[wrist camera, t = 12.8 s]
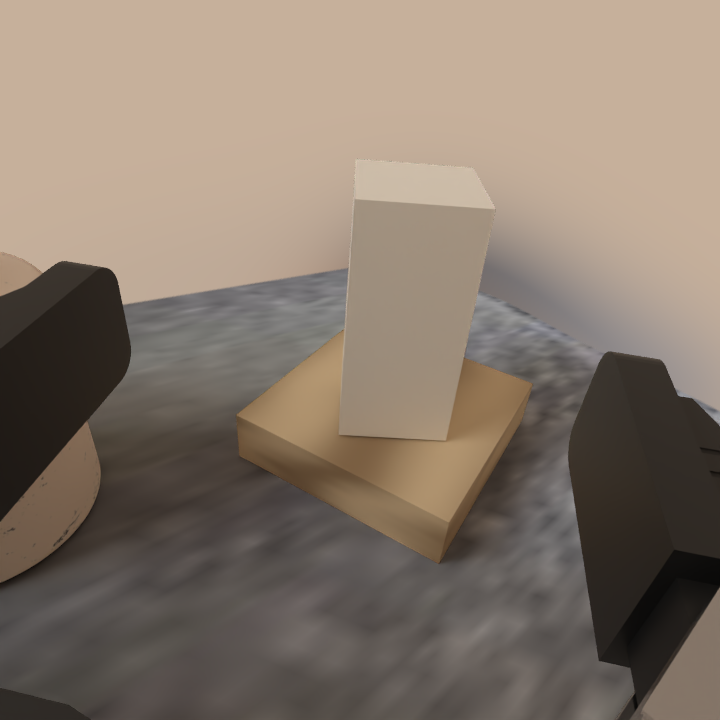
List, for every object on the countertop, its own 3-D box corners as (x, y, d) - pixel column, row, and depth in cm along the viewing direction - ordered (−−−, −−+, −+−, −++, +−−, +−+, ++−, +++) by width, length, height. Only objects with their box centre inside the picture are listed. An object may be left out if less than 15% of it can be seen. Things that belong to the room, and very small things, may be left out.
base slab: (240, 464, 26) (236, 414, 24) (354, 361, 33) (358, 317, 31) (436, 572, 22) (448, 522, 20) (519, 429, 29) (533, 383, 28)
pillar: (338, 434, 24) (354, 198, 18) (341, 371, 27) (356, 159, 22) (445, 440, 24) (495, 209, 18) (434, 376, 27) (473, 167, 22)
